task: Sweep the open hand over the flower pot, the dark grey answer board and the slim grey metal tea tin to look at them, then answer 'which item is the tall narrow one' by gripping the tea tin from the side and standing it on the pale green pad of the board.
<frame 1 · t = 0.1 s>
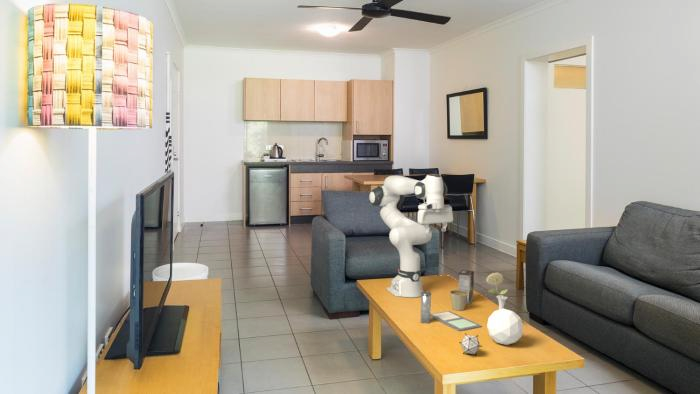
hand: (436, 232, 263), 39 cm above the table, tool pointing down, fingers open, 8 cm apart
game die: (470, 354, 205), on the table
coffee box: (465, 301, 276), on the table
answer board: (454, 321, 243), on the table
geometric sphere: (504, 343, 217), on the table
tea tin: (425, 321, 242), on the table
flower pot: (458, 309, 262), on the table
flower in vase: (498, 326, 238), on the table
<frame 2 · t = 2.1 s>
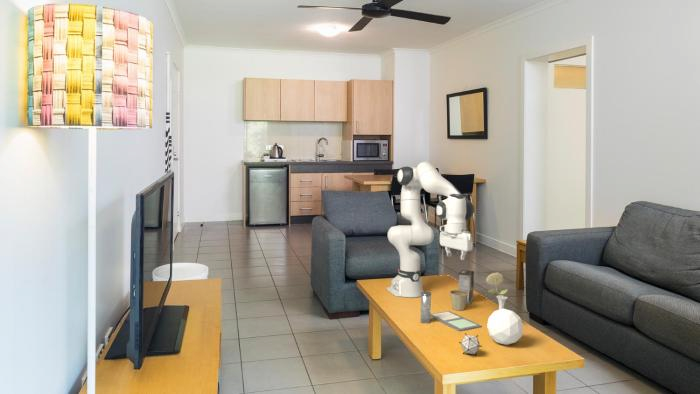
hand: (455, 258, 241), 30 cm above the table, tool pointing down, fingers open, 8 cm apart
nothing on the table moved.
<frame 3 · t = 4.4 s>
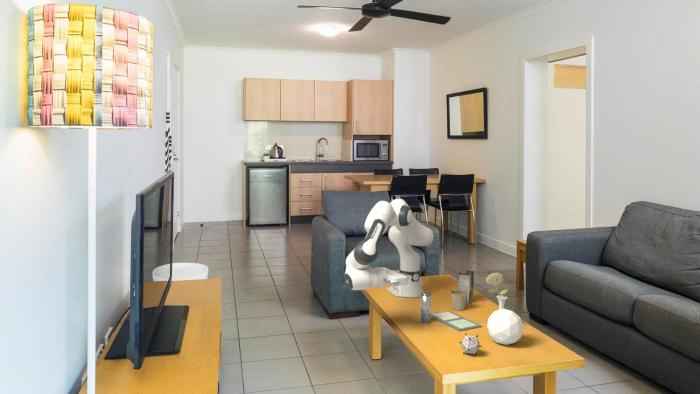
hand: (404, 274, 234), 24 cm above the table, tool horizontal, fingers open, 8 cm apart
nothing on the table moved.
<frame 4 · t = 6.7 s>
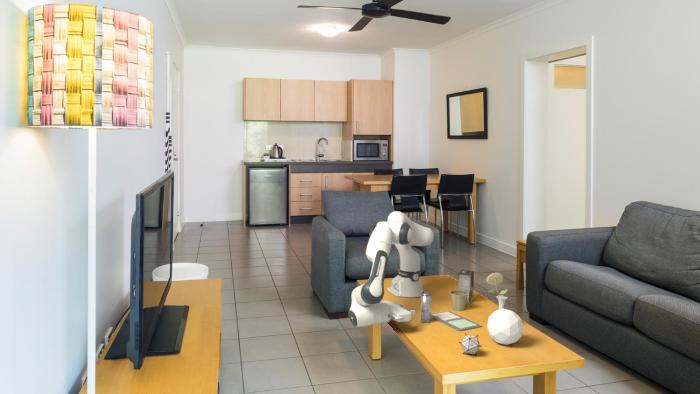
hand: (408, 308, 237), 8 cm above the table, tool horizontal, fingers open, 8 cm apart
nothing on the table moved.
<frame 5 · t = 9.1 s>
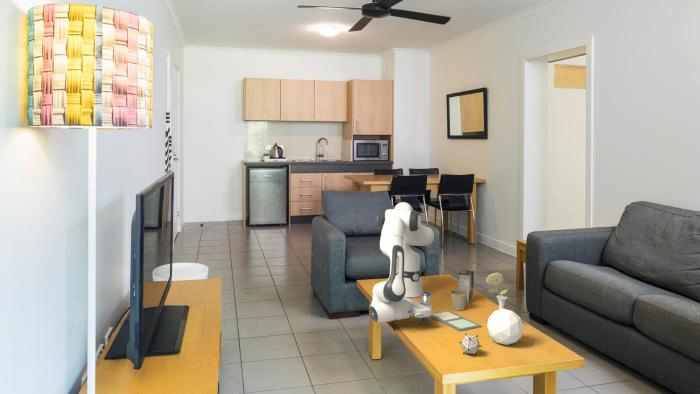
hand: (427, 305, 242), 8 cm above the table, tool horizontal, fingers closed on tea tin, 5 cm apart
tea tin: (425, 321, 242), on the table, touching gripper
everything else where it was.
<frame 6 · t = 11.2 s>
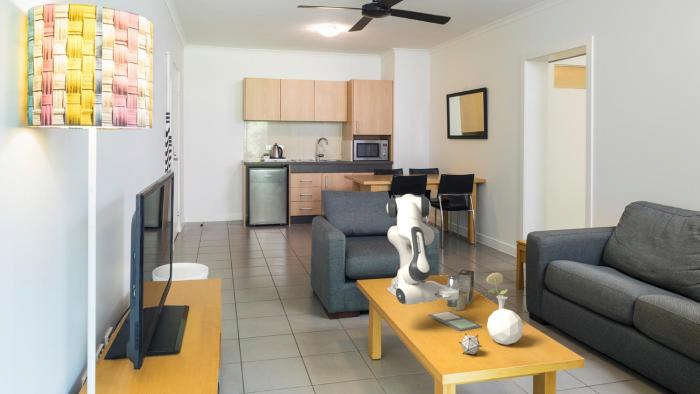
hand: (454, 288, 238), 17 cm above the table, tool horizontal, fingers closed on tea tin, 5 cm apart
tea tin: (451, 305, 238), point 9 cm above the table, touching gripper
everything else where it was.
when the fingers open (10 cm above the table, at t = 13.3 s): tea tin drops 1 cm, resting on answer board.
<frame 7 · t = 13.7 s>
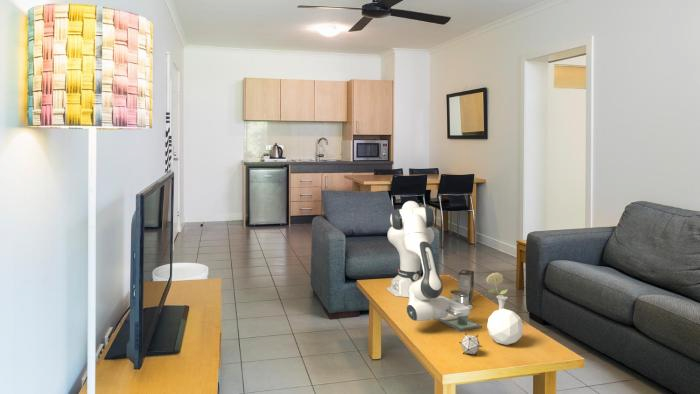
hand: (464, 303, 237), 10 cm above the table, tool horizontal, fingers open, 8 cm apart
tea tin: (462, 323, 238), point 1 cm above the table, touching answer board
everything else where it was.
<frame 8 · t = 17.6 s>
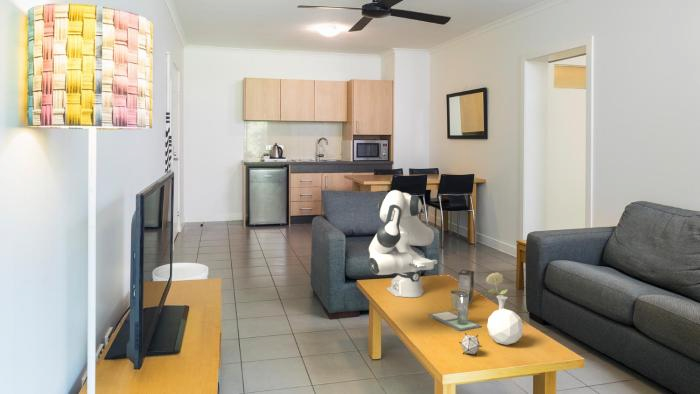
hand: (429, 259, 230), 32 cm above the table, tool horizontal, fingers open, 8 cm apart
nothing on the table moved.
at the end: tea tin inside the target area on the answer board (0.0 cm from its centre), point 0.8 cm above the answer board's base; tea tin tilted 0°; the gripper is holding nothing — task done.
